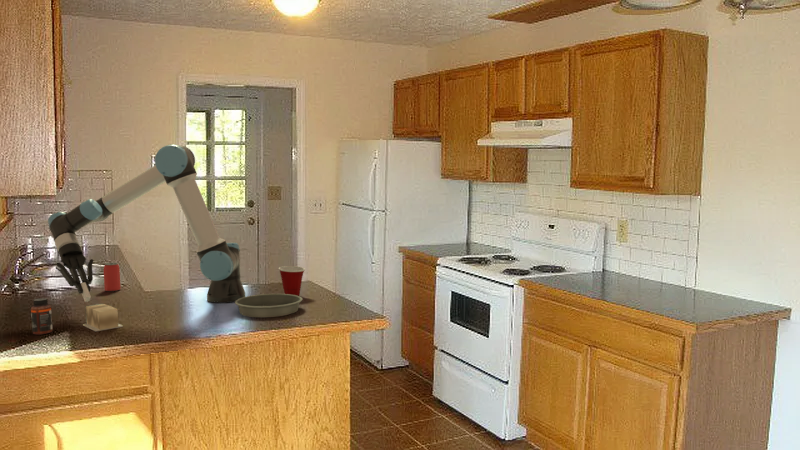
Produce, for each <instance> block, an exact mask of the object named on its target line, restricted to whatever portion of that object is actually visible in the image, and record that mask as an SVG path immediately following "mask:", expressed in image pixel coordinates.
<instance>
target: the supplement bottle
mask: <svg viewBox="0 0 800 450" xmlns="http://www.w3.org/2000/svg"><path fill="white" fill-rule="evenodd" d="M30 316H31V327H32V328H31V330H32V335H36V336H37V335H38V336H39V335H47V334H50V333H52V332H53V330H54V329H53V327H54V326H53V317H52V316H53V315H52V305H50V304H49V303H48V298H47V297H41V298H34V299H33V305H32V306H31V308H30Z"/></svg>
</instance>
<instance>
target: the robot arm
mask: <svg viewBox="0 0 800 450" xmlns="http://www.w3.org/2000/svg"><path fill="white" fill-rule="evenodd" d="M195 165H196V158H195V155H194V153H193V151H192V150H191V149H190V148H189V147H186V146H185V145H181V144H180V145H178V144H175V143H174V144H173V143H172V144H168V145H164V146H162V147H160V149H159V150H158V151H157V152H156V154H155V155H154V165H153V166H151V167H150V168H149V169H146V170H145V171H144V172H141V173H140V174H138V175H137V176H135V177H133V178H131V179H130V180H129V181H127V182H125V183H124V184H121V185H120V186H118V187H116V188H115V189H114V190H113V189H112V191H110V192H108V193H107V194H105V195H103V196H102V197H100V198H98V199H96V200H94V199H93V198H88V199H86V200H85V201H82V202H80V204H78V205H77V206H75V208H73V209H72V210H70V211H68V212H64V211H58V212H57V213H55V212H54V213H52V214H51V215H49V217H48V218H47V219H48V220H47V223H48V229H49V231H50V233H51V235H52V238H53V241H54V244H55V247H56V250H57V252H58V255H59V257H60V262H56V265H55V269H56V270H57V271H59V272H60V273H61V276H62V277H63V278H64V279H65V281H66V282H67V284H68V285H69V286H70V287H75V289H77V292H78V294H81V295H82V298H83V301H84V303H87V302H90V301H91V298H92V295H91V294H90V293H91V292H90V291H91V286H90V285H91V284H92V282H93V280H94V275H93V264H94V259H93V258H90V259H87V257H86V256H84V253H83V249H82V247H81V246H80V242H79V240H78V237H77V234H76V232H78V231H79V230H81V229H82V228H84V227H86V226H87V225H89V224H93V223H96V222H103V221H104V220H107V219H108V218H109V217H110V216H111V215H113V214H114V213H116V212H118V211H119V210H121V209H123V208H124V207H126V206H128V205H129V204H131V203H132V202H135V201H136V200H137V199H140V198H141V197H143V196H144V195H146V194H149V192H151V191H153V190H154V189H156V188H158V187H159V186H161V185H163V184H165V183H166V185H167V186H168V187H171V188H172V189H173V191H174V193H175V196H176V198H177V200H178V202H179V205H180V207H181V210H182V212H183V214H184V217H185V219H186V221H187V223H188V226H189V228H190V231H191V233H192V235H193V237H194V240H195V242H196V244H197V248H196V251H195V252H196V255H197V257H198V259H199V268H200V271H201V273H202V275H203V276H204V277H205V278H206V279H208V280H210V282H209V283H210V284H209V287H208V291H207V293H206V300H207V302H210V303H215V304H216V303H220V304H221V303H233V302H234V303H235V301H236V300H238V299H240V298H243V297H247V296H246V291H245V288H244V285H243V283H242V279H241V264H240V263H241V258H240V255H241V253H240V252H241V250H240V245H239V243H237V242H227V241H226V239H224V238H222V237H220V236H219V235H220V234H219V233H218V231H217V228H216V226H215V224H214V221H213V219H212V217H211V214H210V211H209V209H208V207H207V205H206V202H205V199H204V197H203V195H202V193H201V191H200V188H199V186H198V183H197V181H196V178H197V174H198V173H197V171H196V169H195ZM84 265H85V266H86V267H87V268H86V270H85V269H84ZM86 274H87V275H86Z"/></svg>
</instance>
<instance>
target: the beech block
mask: <svg viewBox="0 0 800 450" xmlns="http://www.w3.org/2000/svg"><path fill="white" fill-rule="evenodd" d="M84 308H85V309H84V310H85V322H86V323H85V324H89V325H91V326H93V327H95V328H98V329H100V330H101V329H107V328H112V327H118V324H119V314H118V308H116V307H113V306H111V305H108V304H105V303H100V304H99V303H98V304H91V305H85V307H84ZM118 328H119V327H118ZM112 329H113V328H112ZM107 330H108V329H107ZM101 331H102V330H101Z"/></svg>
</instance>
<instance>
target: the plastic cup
mask: <svg viewBox="0 0 800 450" xmlns="http://www.w3.org/2000/svg"><path fill="white" fill-rule="evenodd" d="M278 270H279V274H280V278H281V283H282V289H283V294H290V295H296V296H300V295H301V294H300V293H301V288H302V282H303V281H302V280H303V276H304V273H305V271H306V268H305V267H302V266H295V265H291V266H289V265H287V266H286V265H283V266H279V267H278Z"/></svg>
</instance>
